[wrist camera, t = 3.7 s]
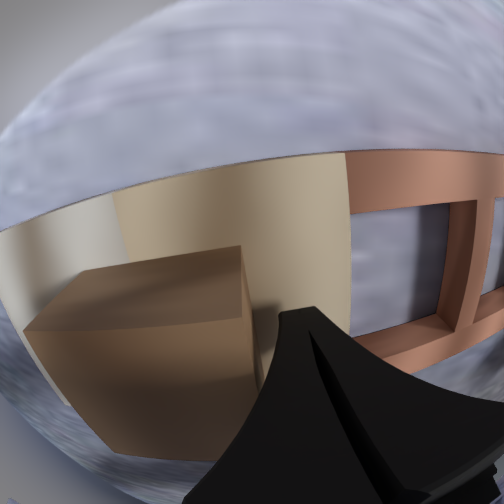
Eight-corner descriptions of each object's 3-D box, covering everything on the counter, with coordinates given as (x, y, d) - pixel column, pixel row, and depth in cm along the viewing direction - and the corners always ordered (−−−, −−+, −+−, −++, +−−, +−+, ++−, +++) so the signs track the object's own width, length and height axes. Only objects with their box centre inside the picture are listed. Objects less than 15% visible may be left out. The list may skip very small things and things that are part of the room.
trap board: (527, 157, 9) (548, 162, 7) (507, 303, 13) (522, 315, 11) (3, 229, 10) (-21, 241, 8) (76, 384, 14) (65, 405, 12)
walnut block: (241, 244, 9) (242, 317, 5) (264, 377, 11) (273, 456, 7) (83, 270, 9) (22, 330, 5) (137, 384, 11) (114, 452, 7)
